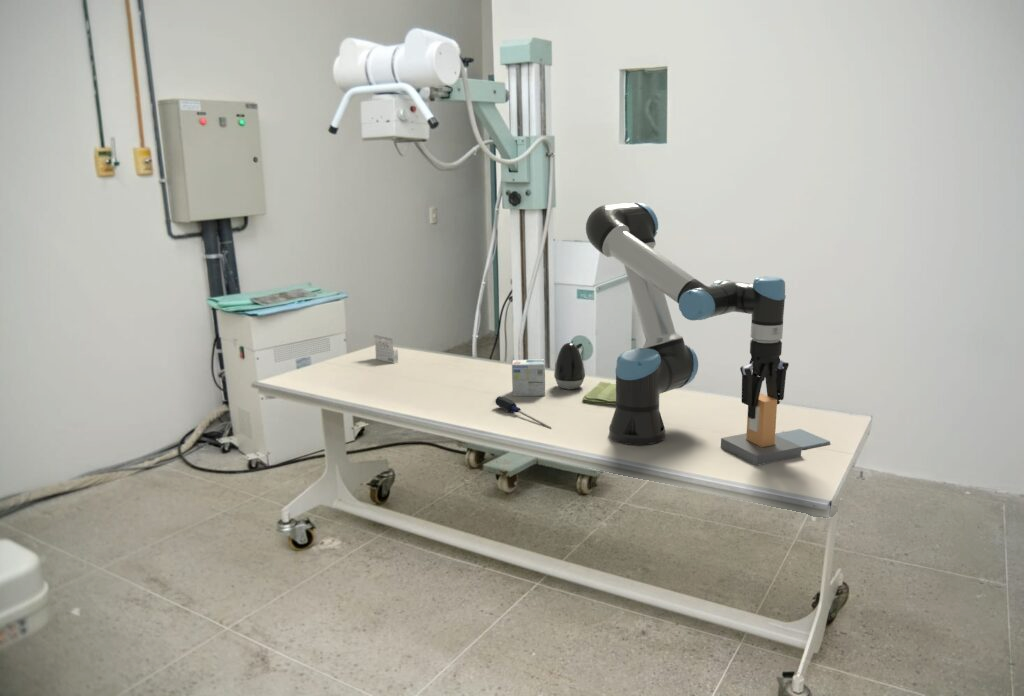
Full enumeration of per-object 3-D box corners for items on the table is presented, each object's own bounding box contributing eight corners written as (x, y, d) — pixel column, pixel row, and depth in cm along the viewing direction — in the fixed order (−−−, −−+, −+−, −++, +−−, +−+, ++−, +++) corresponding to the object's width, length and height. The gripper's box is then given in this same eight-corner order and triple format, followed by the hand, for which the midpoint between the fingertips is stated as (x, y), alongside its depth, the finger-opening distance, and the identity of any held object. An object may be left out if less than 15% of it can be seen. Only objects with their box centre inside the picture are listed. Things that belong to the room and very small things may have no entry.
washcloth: (580, 404, 246) (580, 394, 246) (598, 389, 262) (598, 379, 261) (620, 409, 241) (621, 399, 240) (637, 393, 256) (637, 383, 256)
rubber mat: (797, 450, 203) (797, 448, 203) (768, 437, 213) (768, 434, 213) (830, 443, 208) (830, 441, 207) (800, 430, 217) (800, 428, 217)
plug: (761, 447, 199) (764, 401, 196) (746, 439, 205) (748, 395, 202) (774, 444, 201) (777, 399, 198) (758, 437, 206) (761, 393, 203)
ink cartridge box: (380, 358, 308) (378, 333, 305) (398, 362, 300) (397, 337, 298) (375, 359, 306) (373, 334, 304) (393, 363, 299) (392, 338, 296)
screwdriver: (556, 427, 225) (556, 415, 224) (546, 430, 223) (546, 417, 222) (502, 406, 245) (502, 394, 244) (493, 408, 243) (493, 396, 242)
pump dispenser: (591, 387, 262) (591, 343, 258) (567, 393, 256) (567, 348, 253) (572, 381, 270) (571, 337, 266) (548, 386, 264) (547, 342, 261)
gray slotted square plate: (756, 465, 194) (756, 455, 194) (720, 447, 207) (721, 438, 206) (800, 456, 199) (801, 446, 199) (763, 438, 212) (763, 429, 211)
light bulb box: (545, 390, 261) (544, 358, 258) (545, 396, 254) (545, 363, 251) (512, 390, 261) (512, 359, 258) (512, 396, 254) (511, 364, 252)
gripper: (748, 346, 190) (743, 438, 195) (803, 339, 196) (797, 428, 202) (728, 340, 196) (724, 429, 202) (782, 333, 203) (777, 419, 208)
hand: (760, 428), depth 202 cm, fingers closed on plug, 4 cm apart
